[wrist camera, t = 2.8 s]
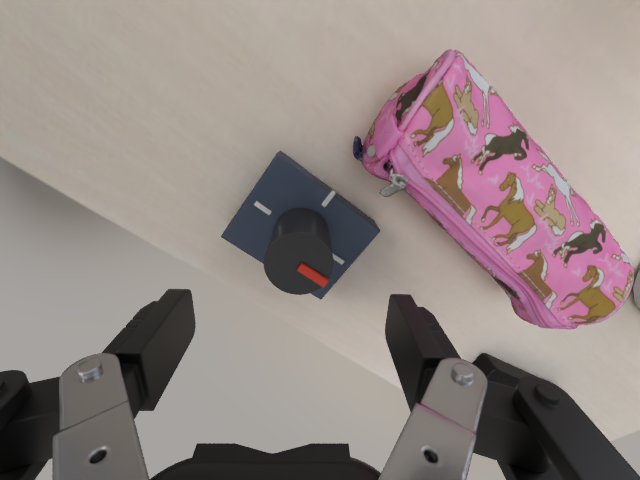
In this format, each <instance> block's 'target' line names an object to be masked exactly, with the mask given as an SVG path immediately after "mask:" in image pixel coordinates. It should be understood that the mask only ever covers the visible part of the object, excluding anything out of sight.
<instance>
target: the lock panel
mask: <svg viewBox="0 0 640 480" xmlns="http://www.w3.org/2000/svg"><path fill="white" fill-rule="evenodd" d="M294 208H308V209H311V210H313V211H315V212H317V213H318V214H320V215H321V216H322V217H323V219H324V220H325V222H326V224H327V226H328V230H329V236H330V242H331V247H332V253H333V259H334V268H333V272H332V274H331V276H330V278H329V282H328V283H327V284H326V286H325V287H324V288H323V287H321V288H320V289H318V290H316V291H314V292H311V294H313V295H314V296H316V297H318V298H319V299H322V298H323V297H324V295H325V294H326V293H327V292H328V291H329V290H330V289H331V287H332V286H333V285H334V284H335V283H336V282H337V280H338V279H339V278H340V277H341V276H342V275H343V273H344V272H345V271H346V270H347V269H348V268H349V267H350V265H351V264H352V263H353V262H354V261H355V260H356V258H357V257H358V256H359V255H360V254H361V253H362V252H363V250H364V249H365V248H366V247H367V246H368V245H369V243H370V242H371V241H372V240H373V239H374V238H375V237H376V235H377V234H378V233H379V232H380V229H379V227H378V226H377V224H376V223H375V221H374V220H372V219H371V218H370V217H368V216H367V215H366V214H364V213H363V212H362V211H360V210H359V209H358V208H356V207H355V206H354V205H352V204H351V203H350V202H348V201H347V200H346V199H344V198H343V197H342V196H340V195H339V194H338V193H336V192H335V191H334V190H332V189H331V188H330V187H328V186H327V185H326V184H324V183H323V182H322V181H320V180H319V179H318V178H316V177H315V176H314V175H312V174H311V173H310V172H308V171H307V170H306V169H304V168H303V167H302V166H300V165H299V164H298V163H296V162H295V161H294V160H292V159H291V158H290V157H288V156H287V155H286V154H284V153H283V152H282V151H279V152H278V153H277V154H276V156H275V157H274V159H273V160H272V162H271V163H270V165H269V166H268V168H267V169H266V171H265V172H264V174H263V175H262V177H261V178H260V180H259V181H258V183H257V184H256V185H255V187H254V188H253V190H252V191H251V193H250V194H249V196H248V197H247V199H246V200H245V202H244V203H243V205H242V206H241V208H240V209H239V211H238V212H237V213H236V215H235V216H234V218H233V219H232V221H231V222H230V224H229V225H228V227H227V228H226V230H225V231H224V233H223V234H222V236H221V237H222V238H224V239H225V240H227V241H228V242H230V243H232V244H233V245H235V246H236V247H238V248H240V249H241V250H243V251H244V252H246V253H248V254H249V255H251V256H252V257H254V258H256V259H257V260H259V261H260V262H262V263H263V264H264V256H265V253H266V250H267V247H268V244H269V241H270V238H271V235H272V232H273V229H274V226H275V223H276V221H277V220H278V218H279V217H280V216H281V215H282V214H283V213H285V212H286V211H288V210H291V209H294Z"/></svg>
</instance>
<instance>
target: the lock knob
mask: <svg viewBox="0 0 640 480" xmlns="http://www.w3.org/2000/svg"><path fill="white" fill-rule="evenodd" d="M333 268H334V259H333V253H332V247H331V242H330V236H329V230H328V226H327V224H326V222H325V220H324V219H323V217H322V216H321V215H320V214H318V213H317V212H315V211H313V210H311V209H308V208H294V209H291V210H288V211H286V212H285V213H283V214H282V215H281V216H280V217H279V218H278V220H277V221H276V223H275V226H274V229H273V232H272V235H271V238H270V241H269V244H268V247H267V250H266V253H265V256H264V269H265V272H266V275H267V277H268V278H269V280H270V281H271V282H272V283H273V284H274V285H275V286H276V287H277V288H279V289H280V290H282V291H284V292H287V293H290V294H299V295H301V294H308V293H311V292H314V291H316V290H318V289H320V288H321V287H323V288H324V287H325V286H326V284H327V283H328V282H329V278H330V276H331V274H332V272H333Z"/></svg>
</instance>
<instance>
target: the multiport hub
mask: <svg viewBox="0 0 640 480" xmlns="http://www.w3.org/2000/svg"><path fill="white" fill-rule="evenodd" d="M473 364H474V365H475V366H476V367H478V368H479V369H480V370H481V371H482V372H483V373H484V375H485V376H486V378H487V380H489V381H492V382H496V383H500V384H504V385H508V386H511V387H515V388H516V387H517V384H518V382H519V380H520V379H521V378H523V377H536V376H534V375H532V374H529V373H527V372H525V371H523V370H521V369H518V368H516V367H514V366H512V365H510V364H507V363H505V362H503V361H501V360H499V359H496V358H494V357H492V356H490V355H488V354H485V353H484V354H481V355H480V356H479V357H478V358H477V359H476V360H475V361H474V362H473ZM537 378H538V377H537Z"/></svg>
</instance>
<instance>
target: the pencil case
mask: <svg viewBox="0 0 640 480" xmlns="http://www.w3.org/2000/svg"><path fill="white" fill-rule="evenodd" d="M353 154H354V156H355V158H356V159H357V160H360V161H361V162H362V164H363V166H364V167H365V168H366V170H367V171H369V172H370V173H371V174H373V175H374V176H376V177H378V178H381V179H384V180H387V181H390V182H391V184H390V185H388V186H387V187H385V188H383V189H382V190H380V192H379V194H381V195H383V196H385V197H388V196H391V195H392V194H394V193H396V192H398V191H400V190H402V189H405V190H406V191H407V192H408V194H410V195H411V196H413V197H414V198H415V199H416V201H417V202H418V203H419V204H420V205H421V206H422V207H423V208H424V209H425V210H426V212H427V213H428V214H429V216H430V217H431V218H432V219H433V220H434V221H435V222H436V223H437V224H438V225H439V226H440V227H442V228H443V229H444V230H445V231H447V232H448V233H449V234H450V235H451V236H452V237H453V238H454V239H455V240H456V241H457V242H458V243H459V244H460V245H461V247H462V248H463V249H464V250H465V251H466V252H467V253H468V254H469V255H470V256H471V257H472V258H473V259H474V260H475V261H476V262H477V263H478V264H479V265H480V266H481V267H482V268H483V269H485V270H486V271H487V272H488V273H489V274H490V275H491V276H492V277H493V278H494V279H495V280H496V282H497V283H498V284H499V285H500V286H501V287H502V288H503V289H504V291H505V292H506V294H507V295H508V297H509V298H510V300H511V303H512V307H513V310H514V312H515V313H516V314H517V315H518V316H519V317H520V318H521V319H523V320H525V321H527V322H529V323H531V324H534V325H538V326H539V327H541V328H559V329H575V328H577V327H578V325H588V324H594V323H598V322H601V321H603V320H605V319H607V318H609V317H610V316H612V315H613V314H614V313H615V312H617V311H618V310H619V309H620V308H621V306H622V305H623V304H624V302H625V301H626V299H627V298H628V296H629V294H630V291H631V289H632V285H633V281H634V267H633V263H632V261H631V260H630V258H629V257H628V256H627V255H626V254H625V253H624V252H623V251H622V250H621V249H620V246H619V244H618V242H617V241H616V240H615V239H614V238H613V237H612V235H611V234H610V232H609V230H608V229H607V228H606V226H605V225H604V224H603V222H602V221H601V220H600V218H599V217H598V216H597V215H596V214H595V213H593V212H592V210H591V208H590V207H589V206H588V204H587V203H586V202H585V201H584V199H583V198H582V197H580V196H579V195H578V194H577V193H576V192H575V191H574V190H573V189H572V188H571V187H570V186H569V184H568V183H567V181H566V180H565V179H564V177H563V176H562V174H561V173H560V172H559V171H558V169H557V168H556V167H555V166H554V164H553V163H552V162H551V160H550V159H549V158H548V156H547V155H546V154H545V152H544V151H543V150H542V149H541V148H540V147H539V146H538V145H537V144H536V143H535V142H534V141H533V140H532V139H531V138H530V137H529V135H528V134H527V132H526V131H525V129H524V128H523V126H522V125H521V124H520V123H519V122H518V121H517V119H516V118H515V117H514V116H513V114H512V113H511V111H510V110H509V109H508V107H507V106H506V105H505V103H504V102H503V100H502V99H501V98H500V96H499V95H498V94H497V93H496V91H495V90H494V89H493V88H492V87H491V85H490V84H489V83H488V82H487V81H486V80H485V79H484V78H483V77H482V75H481V74H480V73H479V72H478V71H477V70H476V68H475V67H474V66H473V65H472V64H471V63H470V62H469V61H468V60H467V59H466V58H465V56H464V55H463V54H462V53H461V52H460V51H457V50H454V51H453V50H450V49H449V50H447V51H445V52H444V53H443V54H442V55H441V57H439V58H438V59H437V60H436V61H435V62H434V64H433V66H432V67H430V68H429V69H428V70H427V71H426V72H425V73H423V74H419V75H417V76H415V77H414V78H413V79H412V80H410V81H408V82H407V83H405V84H404V85H403V86H401V87H400V88H399V89H398V90H397V91H395V93H394V94H393V95H392V96H391V97H390V99H389V100H388V101H387V103H386V104H385V105H384V107H383V108H382V110H381V112H380V113H379V115H378V117H377V118H376V120H375V121H374V123H373V125H372V127H371V129H370V131H369V133H368V135H367V136H366V138H365V141H364V143H363V145H362V144H361V139H360V138H359V137H358V136H357V137H355V139H354V145H353Z"/></svg>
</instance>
